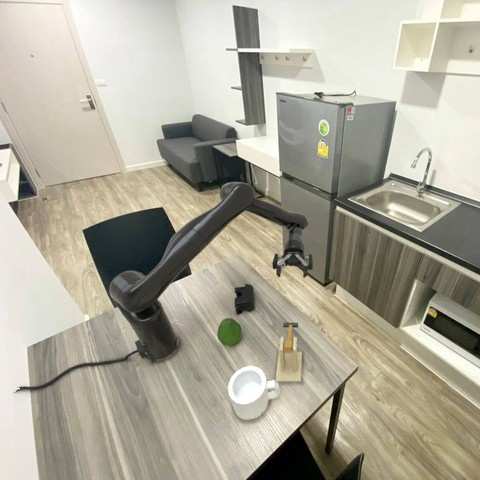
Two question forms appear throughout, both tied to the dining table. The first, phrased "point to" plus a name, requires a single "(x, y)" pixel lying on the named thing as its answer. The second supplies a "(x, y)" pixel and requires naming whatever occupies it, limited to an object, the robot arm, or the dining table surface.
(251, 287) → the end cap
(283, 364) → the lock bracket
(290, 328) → the lever
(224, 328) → the avocado
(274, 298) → the dining table surface
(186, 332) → the dining table surface
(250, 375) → the mug
